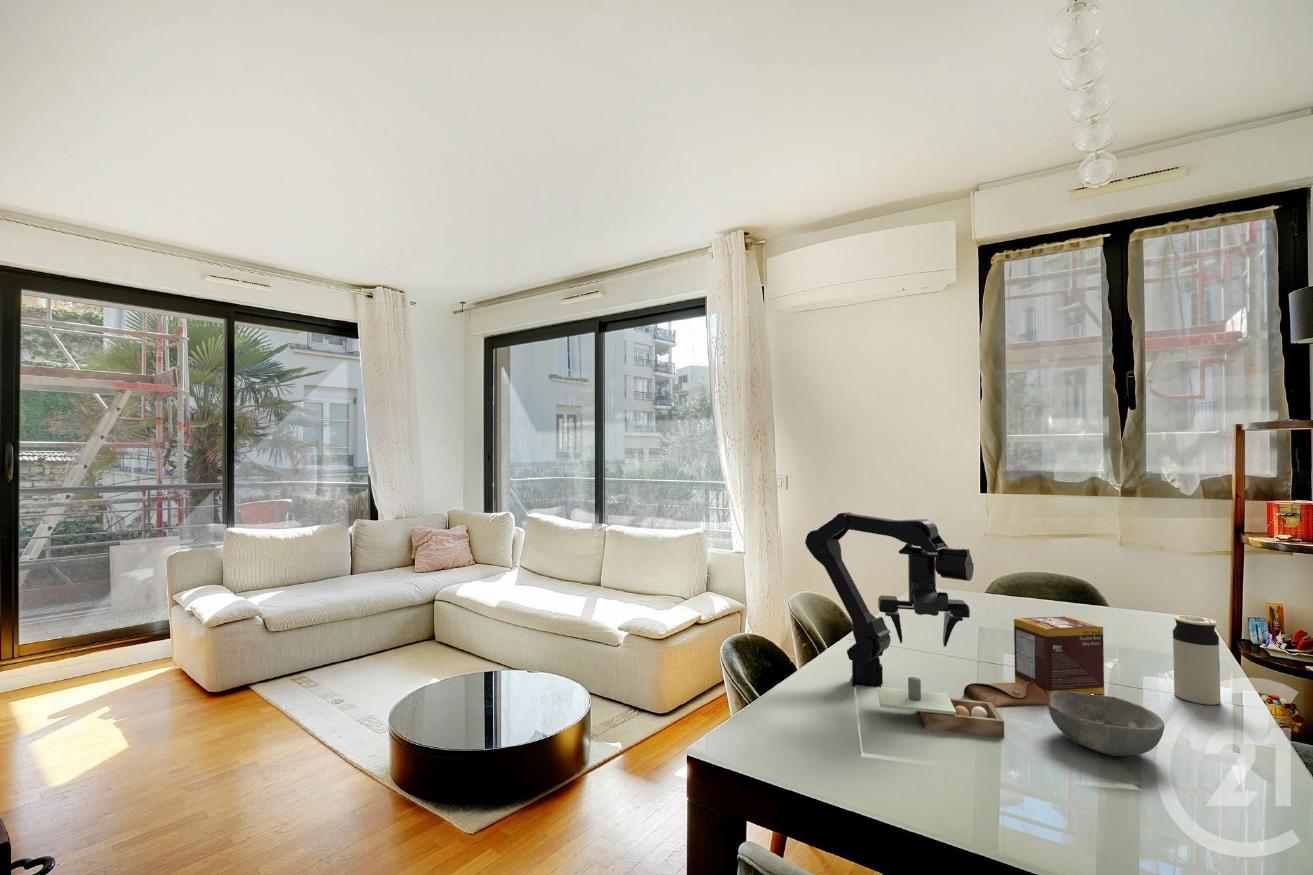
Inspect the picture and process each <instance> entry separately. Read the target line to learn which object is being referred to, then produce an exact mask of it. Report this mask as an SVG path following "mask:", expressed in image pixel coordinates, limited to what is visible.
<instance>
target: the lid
mask: <svg viewBox="0 0 1313 875" xmlns="http://www.w3.org/2000/svg"><path fill="white" fill-rule="evenodd" d="M921 681H922V679H921V678H919V677H915V676H910V677H908V678H907V689H901V688H891V687H882V686H881V687H880V686H878V687H876V692H877V697H878V701H879V707H880V708H884V709H885V708H886V709H893V710H896V709H897V710H906V711H915V712H920V711H923V712H933V713H943V714H952V715H956V710H955V708H954V706H953V704H952V702H951V700H950V698H951V697H949V694H948V693H945V692H943V693H942V692H934V691H933V692H931V691H922V688H921V686H922V684H921V683H922V682H921Z"/></svg>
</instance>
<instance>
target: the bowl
mask: <svg viewBox="0 0 1313 875" xmlns="http://www.w3.org/2000/svg"><path fill="white" fill-rule="evenodd" d="M1047 707H1048V711H1049V716H1050V718H1051V719H1052V720H1051V721H1053V723H1054V724H1055V725H1056V727H1057V729H1058V730H1059V731H1061V733H1062V734H1064V735H1065V736H1066V738H1068V739H1069V740H1071V741H1072V742H1073V743H1076V744H1078V745H1081V746H1084V747H1085V748H1087V749H1090V750H1093V751H1095V752H1099V753H1102V754H1105V755H1109V756H1116V757H1134V756H1137V755H1141V754H1145V753H1148V752H1150V751H1152V750H1153V749H1154V748H1156V746H1157V745H1158V744H1159V742H1160V741H1161V739H1162V737H1163V734H1164V730H1165V722H1164V721H1163V719H1162V718H1161V716H1159V715H1158V714H1156V713H1155V712H1153V711H1152V710H1150V709H1148V708H1146V707H1144V706H1142V705H1141V704H1140V705H1139V704H1137V703H1133V702H1131V701H1128V700H1125V699H1122V698H1120V697H1116V696H1113V695H1111V696H1109V695H1091V694H1085V693H1078V692H1062V691H1059V692H1058V691H1054V692H1052V693H1051V694H1050V695H1049V697H1048V706H1047Z"/></svg>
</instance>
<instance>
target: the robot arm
mask: <svg viewBox="0 0 1313 875" xmlns="http://www.w3.org/2000/svg"><path fill="white" fill-rule="evenodd" d="M848 531H856V532H861V533H862V532H863V533H867V534H868V533H869V534H873V535H874V534H875V535H880V536H886V537H891V538H894V539H896V540H898V541H900V542H902V543H904V544H905V545H904V546H903V547H902V548H900V549H899V550H898V553H899V554H900V555H907V557H908V566H907V567H908V571H907V572H908V600H898V598H897V596H896V595H880V596H878V599H877V607H878V610H879V612H880V613H884V614H885V616H886V617H890V618H891V621H892V623H893V625H894V628H895V630H896V633H897V637H898V639H899V643H900V644H903V633H902V624H901V615H900V613H899V610H912V611H913V610H914V613H915V614H916V615H918V616H919V615H920V616H923V615H929V616H933V617H937V616H938V615H939V612H941V613H942V612H944V617H943V630H942V643H943V647H945V648H946V647H947V645H948V642H949V640H950V638H951V634H952V631H953V630H954V628H955V625H956V624H958V622H962V621H964V619H969V618H971V615H970V613H971V612H970V611H971V610H970V606H969V605H968V604H967V603H966V602H965V601H964V600H963V599H950V598H949V594H948V592H943V591H942V592H941V591H937V589H936V588H937V586H936V584H937V581H936V580H937V576H936V575H937V574H938V575H939V576H940V577H941V578H943V579H951V580H959V581H965V582H966V581H967V582H971V580H972V578H973V576H974V569H975V568H974V562H973V558H972V555H971V553H970V552H971V550H970V549H969V548H951V547H949V546H948V545H947V543H946V542H945V540H943V538H942V537H941V535H940V534H939V529H938V527H937V525H936V524H935V523H934V521H932V520H930V519H928V518H927V519H919V518H917V519H899V520H898V519H897V520H896V519H891V518H883V517H876V516H869V515H863V514H857V513H852V512H850V511H849V512H848V511H847V512H840V513H837V514H836V515H835V517H833V518H832V519H830V520H829V521H828V522H826V523H824V524H823V525H822V526H820V527H819V528H818V529H814V530H811V531H809V532H808V533H807V535H806V537H805V540H804V541H805V543H804V544H805V546H806V548H807V550H808V552H809V553H810V554H811V556H813V558H814V559H815V560H816V561H817V562H818V563H819V564H821V565H822V566H823V567H824V569H825V571H826V573H827V575H828V577H829V578H830V580H831V583H832V584H833V586H834V589H835V590H836V592H837V594H838V597H839V598H840V600H841V601H842V605H843V607H844V608H845V610H846V612H847V614H848V615H849V617H850V620H851V623H852V624H851V625H852V626H851V627H852V636H853V638H854V641H855V643H854V644H853V645H851V646H850V647H849V648H847V650H846V654H847V657H848V660H850V661H851V676H850V677H851V679H850V680H851V686H852V687H856V686H862V687H872V688H877V687H882V685H883V683H884V682H883V681H884V680H883V679H884V678H883V675H884V674H883V670H884V669H883V667H884V666H883V665H882V663H881V660H880V657H882V656H883V654H884V651H885V650H887V649H889V646H890V645H891V640H892V639H891V635H890V633H891V630H889V628H888V627H887V625H886V622H885V620H884V617H883V616H879V617H876V616H875V615H873V614H872V613H871V612H870V610H869V609H868V607H867V604H866V602H865V601H864V598H863V597H862V595H861V592H860V591H859V589H858V588H857V585H856V583H855V581H854V580H853V578H852V576H851V574H850V572H849V570H848V568H847V567H846V565H845V563H844V561H843V558H842V547H841V544H840V539H842V538H843V537H845V536H846V534H847V533H848ZM936 573H937V574H936Z"/></svg>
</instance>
